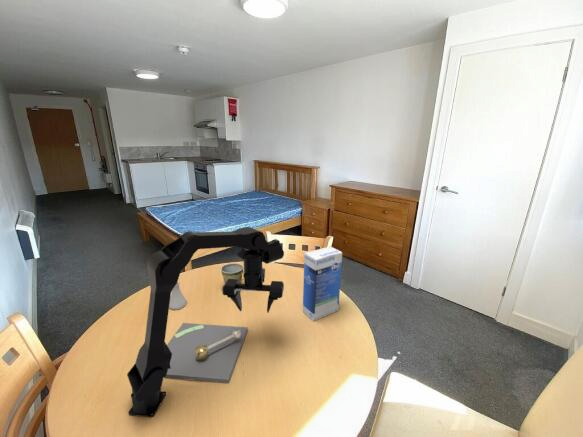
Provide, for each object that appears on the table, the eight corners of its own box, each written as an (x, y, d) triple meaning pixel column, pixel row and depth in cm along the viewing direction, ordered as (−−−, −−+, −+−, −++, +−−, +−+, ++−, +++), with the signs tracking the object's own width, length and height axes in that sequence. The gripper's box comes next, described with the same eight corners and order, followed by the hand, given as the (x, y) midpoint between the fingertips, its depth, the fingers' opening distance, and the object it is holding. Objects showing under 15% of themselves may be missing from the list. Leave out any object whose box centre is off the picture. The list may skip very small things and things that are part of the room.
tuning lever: (198, 362, 79) (197, 355, 78) (194, 355, 81) (193, 348, 80) (243, 340, 88) (242, 333, 87) (237, 334, 91) (237, 327, 90)
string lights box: (327, 302, 113) (330, 245, 106) (339, 311, 107) (343, 252, 100) (301, 311, 106) (303, 252, 99) (313, 322, 100) (316, 259, 93)
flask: (180, 311, 105) (177, 289, 102) (164, 309, 106) (161, 287, 104) (190, 301, 112) (188, 280, 109) (175, 299, 113) (172, 278, 110)
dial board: (228, 383, 74) (228, 379, 74) (147, 375, 76) (146, 372, 75) (247, 330, 95) (247, 326, 95) (183, 325, 97) (183, 322, 97)
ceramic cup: (217, 290, 120) (216, 271, 117) (229, 280, 129) (228, 261, 127) (243, 295, 116) (242, 275, 114) (253, 284, 126) (252, 265, 123)
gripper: (285, 258, 89) (285, 298, 93) (231, 255, 90) (233, 296, 94) (281, 273, 78) (281, 318, 82) (220, 270, 79) (223, 315, 84)
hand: (254, 311), depth 86 cm, fingers open, 9 cm apart
